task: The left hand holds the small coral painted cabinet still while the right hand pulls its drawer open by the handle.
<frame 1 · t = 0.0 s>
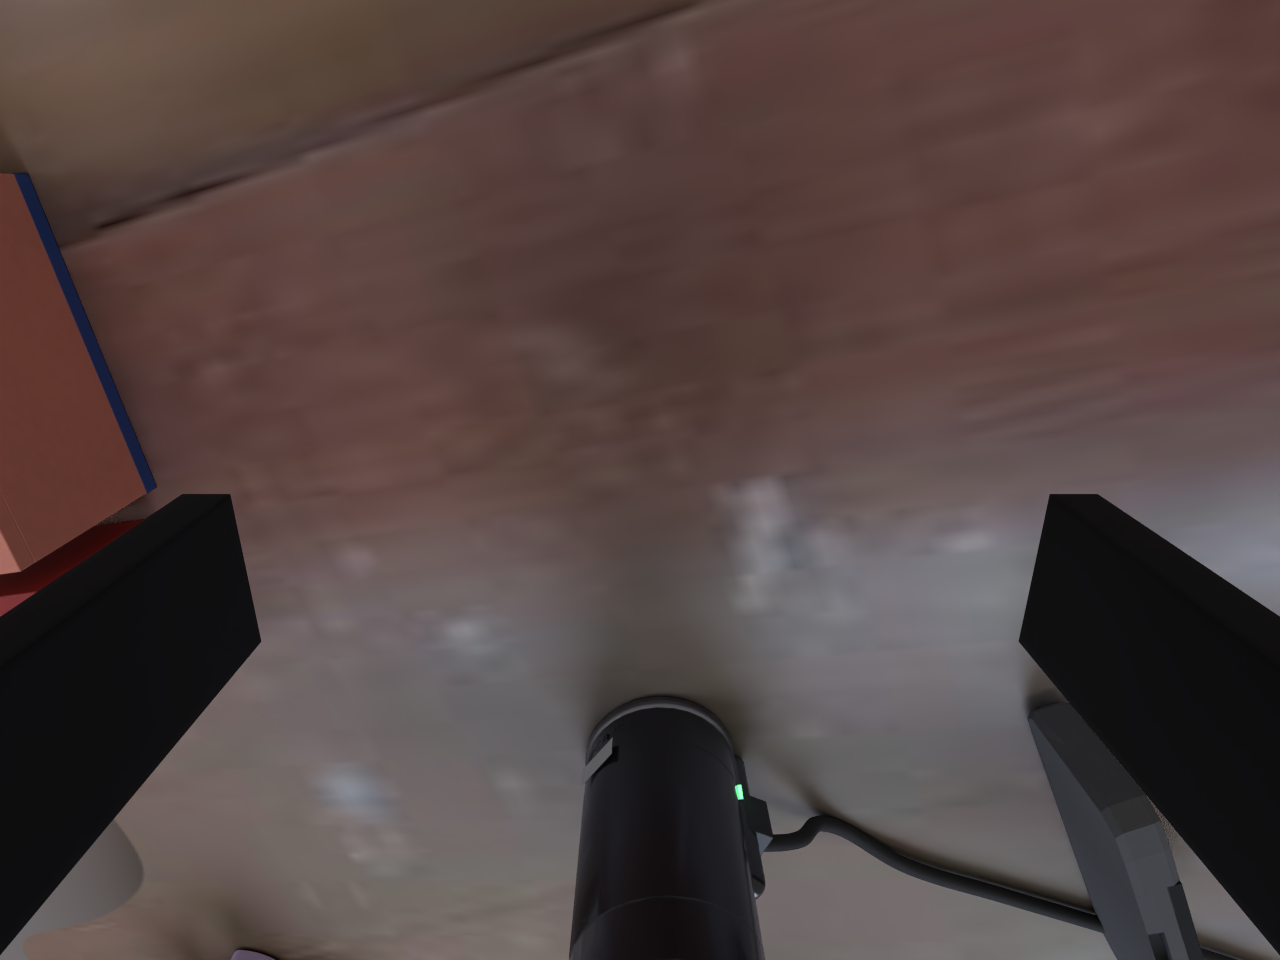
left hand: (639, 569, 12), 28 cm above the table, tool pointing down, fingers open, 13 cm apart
handheld gaming console: (1083, 820, 51), on the table
drawer: (15, 489, 37), point 5 cm above the table, slide at 1.4 cm
cabinet: (39, 351, 39), on the table
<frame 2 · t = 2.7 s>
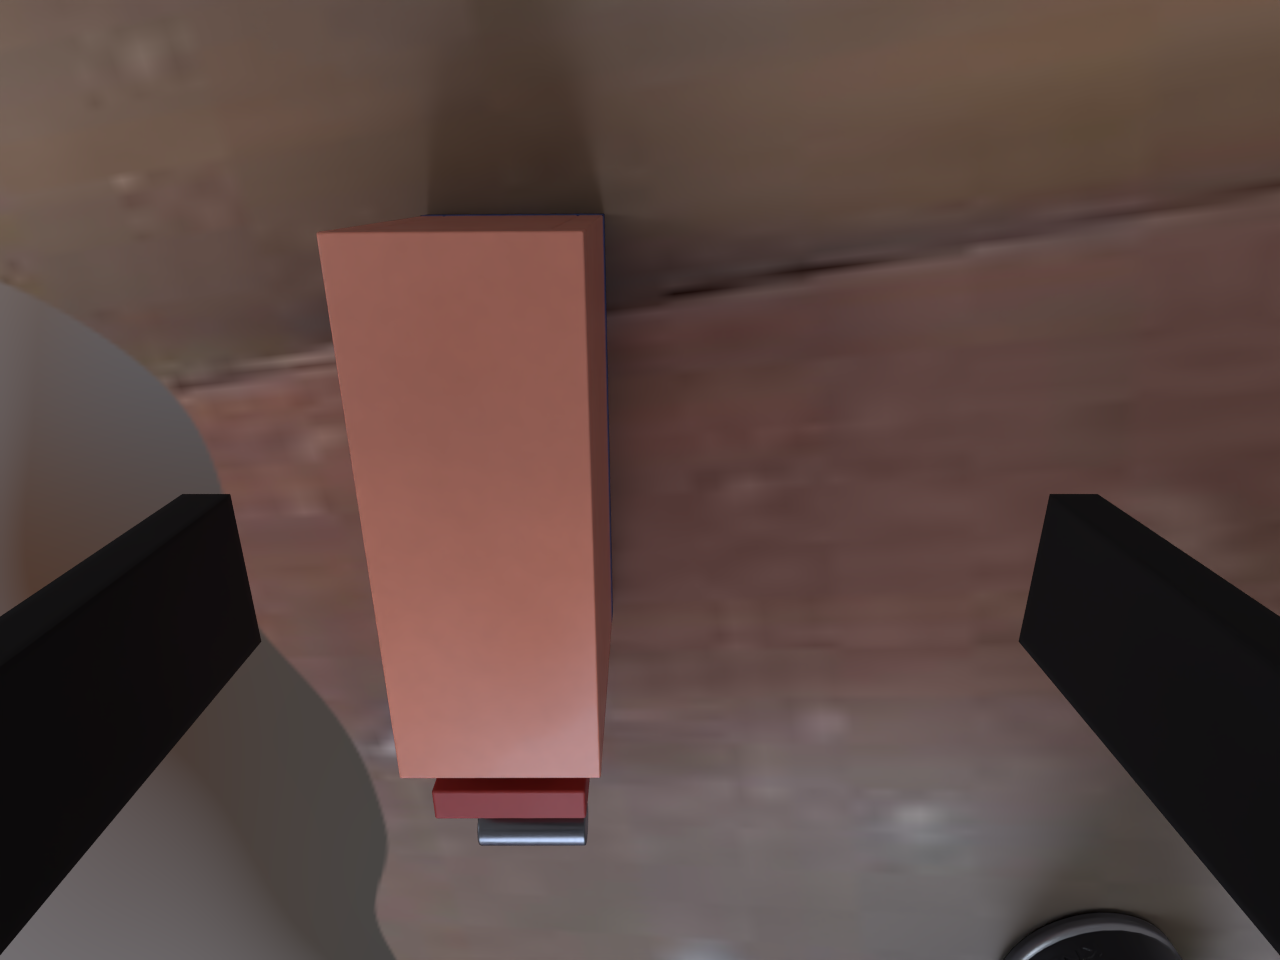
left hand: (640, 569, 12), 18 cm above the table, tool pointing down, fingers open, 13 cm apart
drawer: (519, 627, 27), point 5 cm above the table, slide at 1.4 cm
cabinet: (528, 432, 30), on the table
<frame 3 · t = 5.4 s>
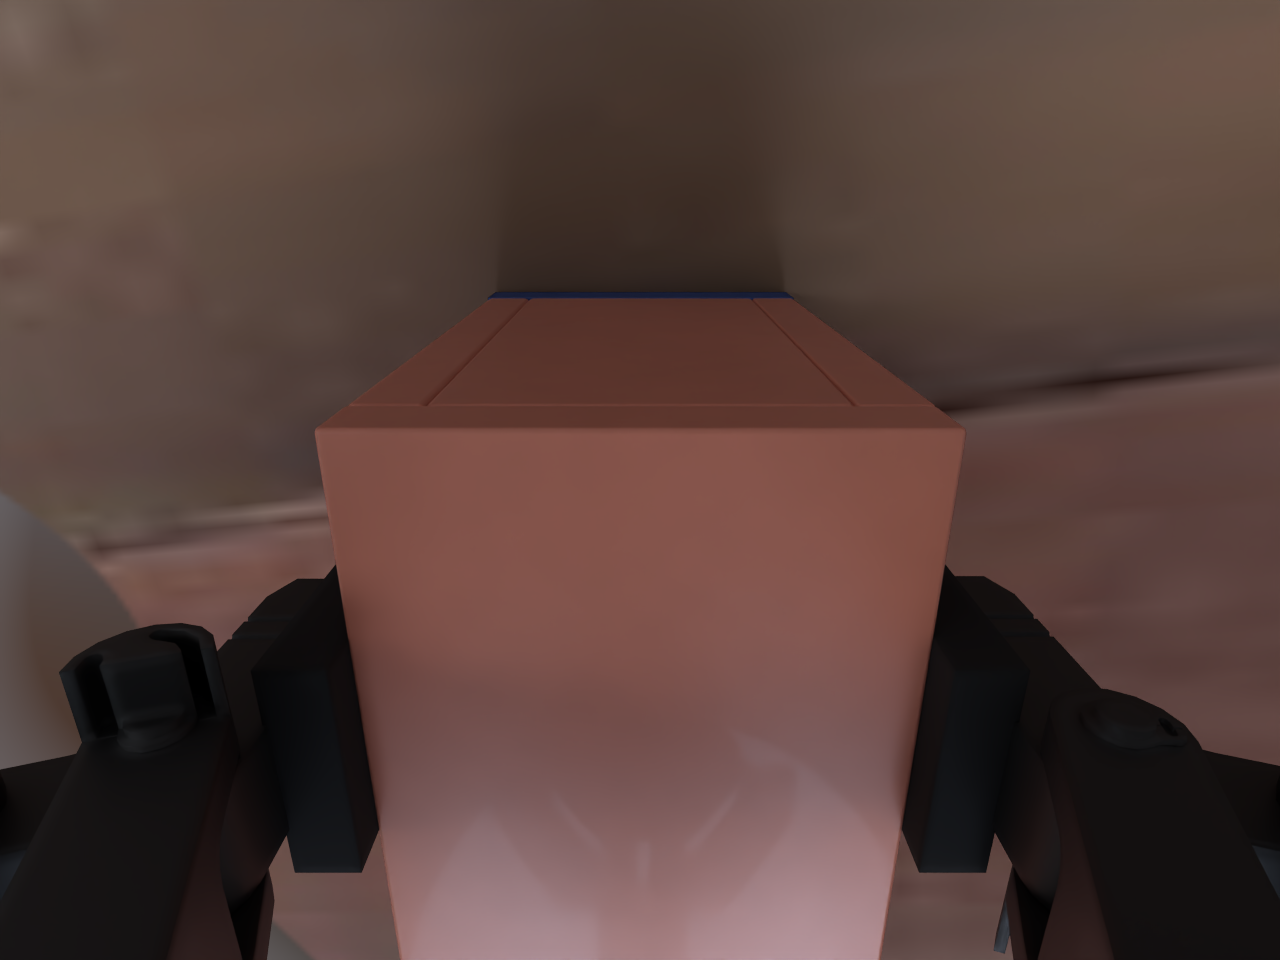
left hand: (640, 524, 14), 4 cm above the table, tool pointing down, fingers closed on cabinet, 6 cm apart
cabinet: (640, 617, 19), on the table, touching left hand
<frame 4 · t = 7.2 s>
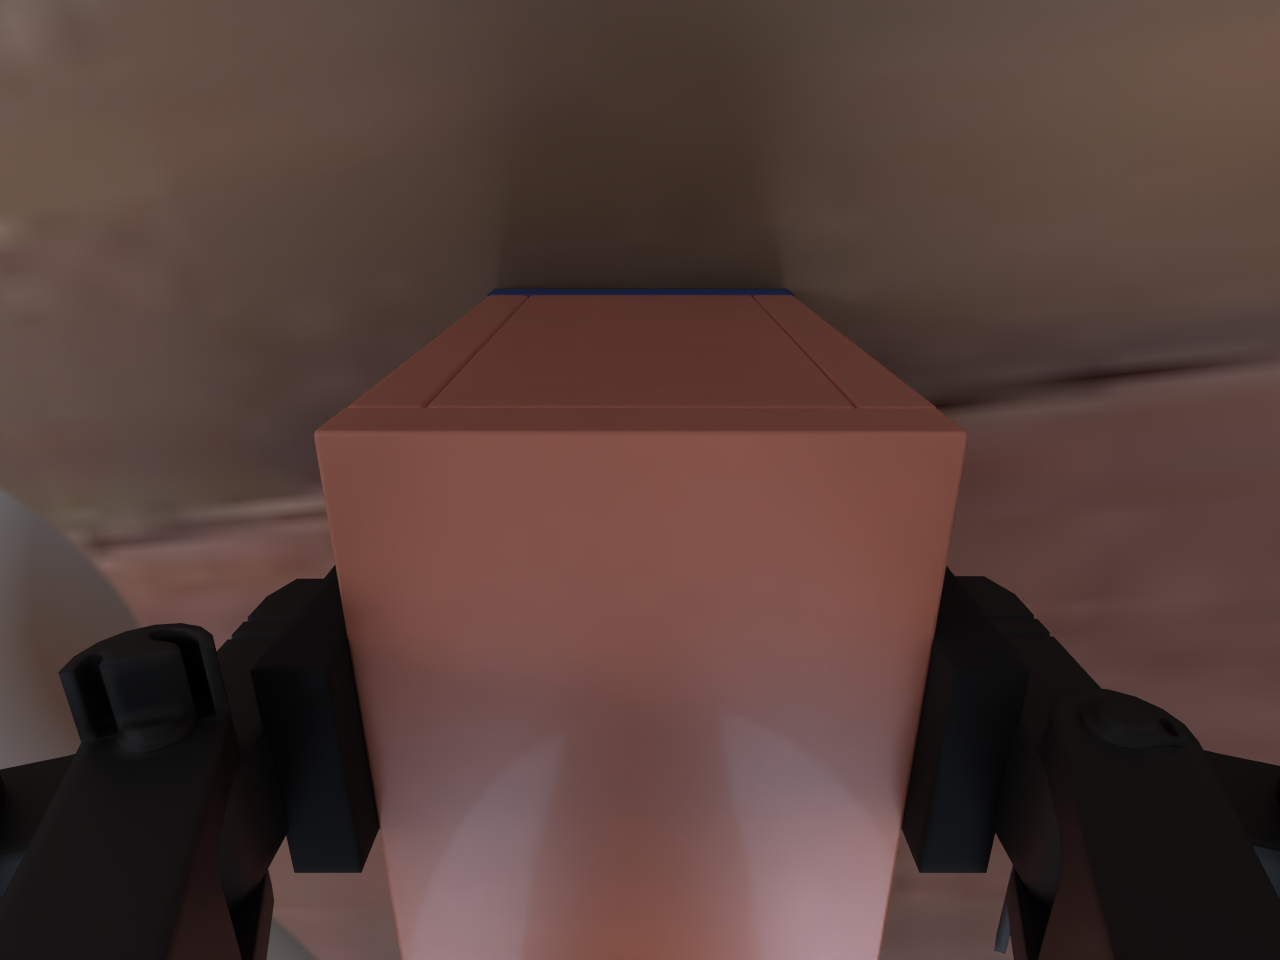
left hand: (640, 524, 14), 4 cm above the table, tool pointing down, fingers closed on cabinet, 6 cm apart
cabinet: (640, 613, 19), on the table, touching left hand
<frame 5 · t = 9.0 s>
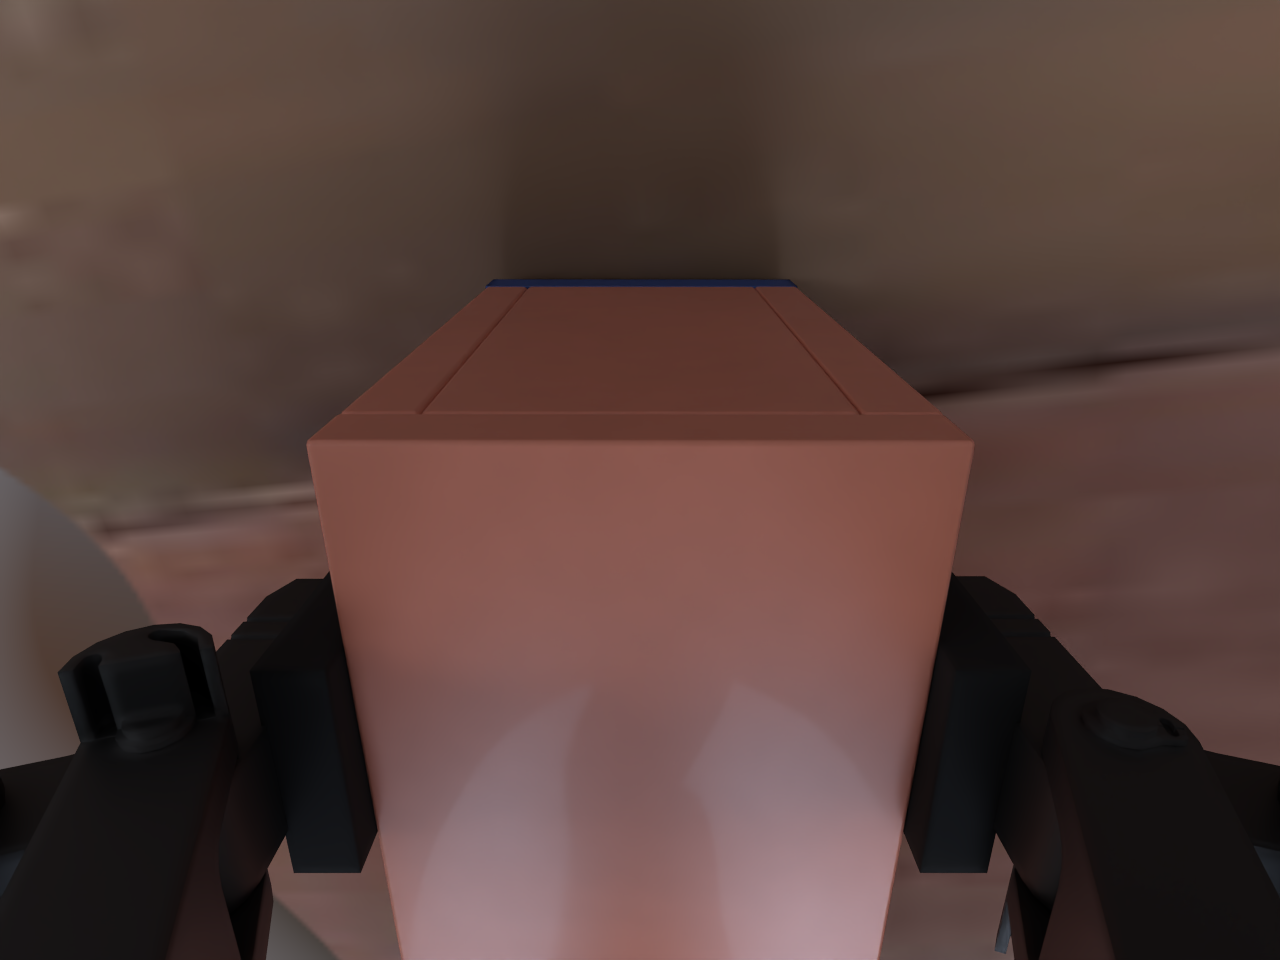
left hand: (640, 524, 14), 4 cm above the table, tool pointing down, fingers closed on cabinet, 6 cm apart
cabinet: (641, 606, 19), on the table, touching left hand
when the left hand's fingers open (4 cm above the table, at t = 10.2 s): cabinet stays where it is, on the table.
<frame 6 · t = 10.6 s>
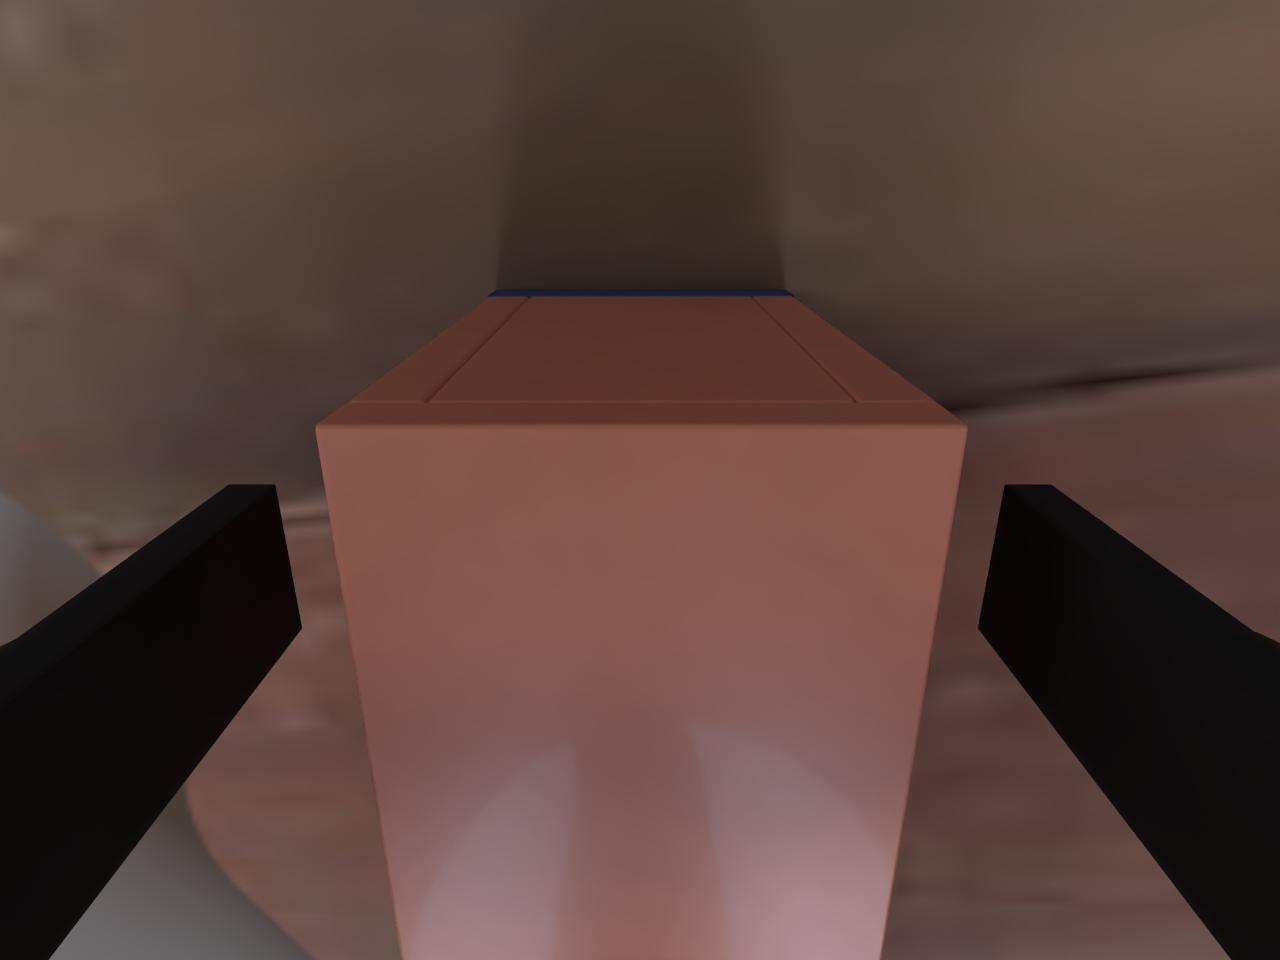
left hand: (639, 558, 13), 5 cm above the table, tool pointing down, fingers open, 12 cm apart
cabinet: (640, 615, 19), on the table
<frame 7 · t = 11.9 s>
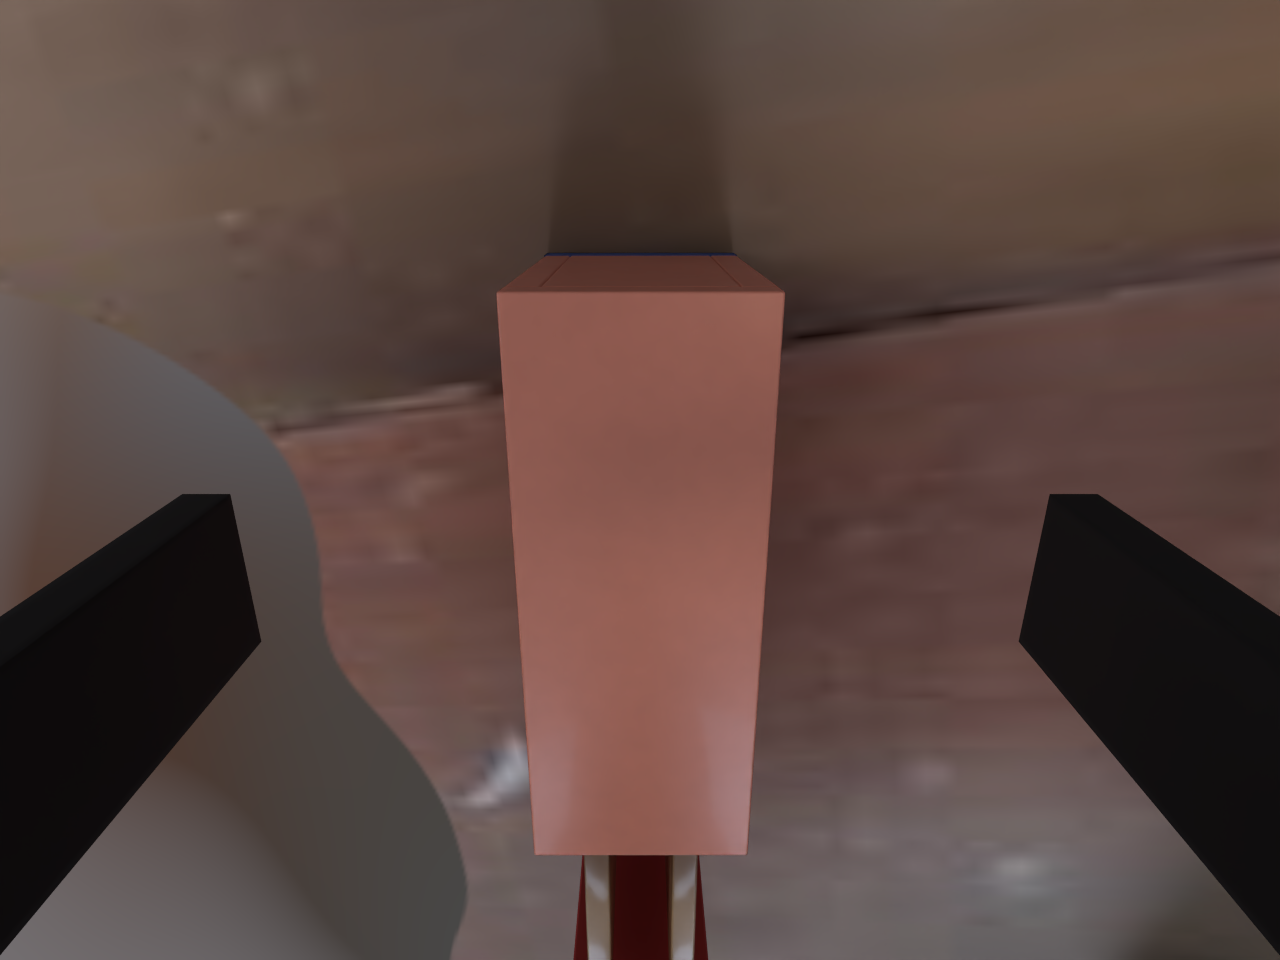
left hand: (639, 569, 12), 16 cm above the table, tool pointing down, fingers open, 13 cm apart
drawer: (640, 848, 29), point 5 cm above the table, slide at 8.8 cm
cabinet: (640, 477, 29), on the table
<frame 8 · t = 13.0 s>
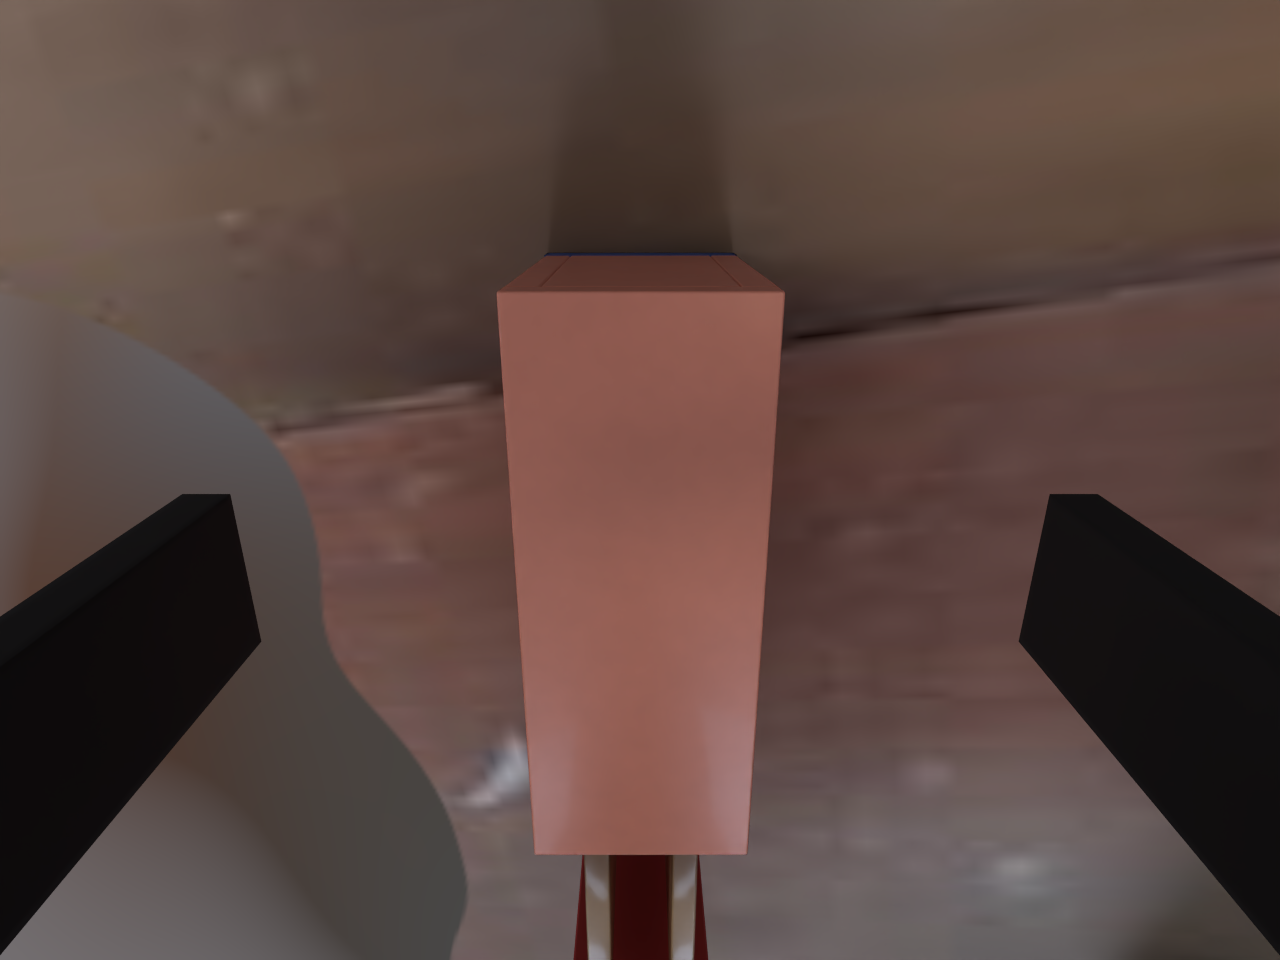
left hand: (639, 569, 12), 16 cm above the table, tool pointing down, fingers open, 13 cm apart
drawer: (640, 848, 29), point 5 cm above the table, slide at 8.8 cm
cabinet: (640, 477, 29), on the table
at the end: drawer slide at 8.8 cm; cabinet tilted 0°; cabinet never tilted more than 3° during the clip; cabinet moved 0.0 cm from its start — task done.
